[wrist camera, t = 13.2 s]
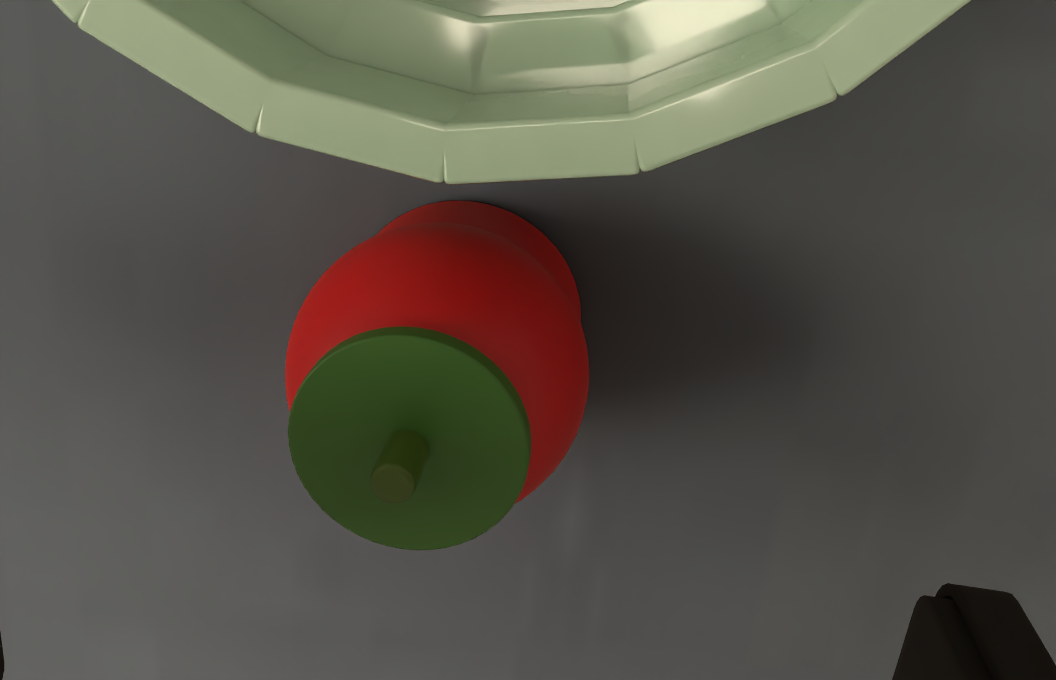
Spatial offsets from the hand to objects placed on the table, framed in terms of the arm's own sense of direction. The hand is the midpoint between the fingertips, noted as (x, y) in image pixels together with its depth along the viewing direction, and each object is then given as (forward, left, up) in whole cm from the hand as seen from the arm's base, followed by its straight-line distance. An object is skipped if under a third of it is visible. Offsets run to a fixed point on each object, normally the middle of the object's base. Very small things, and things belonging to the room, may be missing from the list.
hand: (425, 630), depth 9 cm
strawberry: (+1, 0, -6) cm, 6 cm away
